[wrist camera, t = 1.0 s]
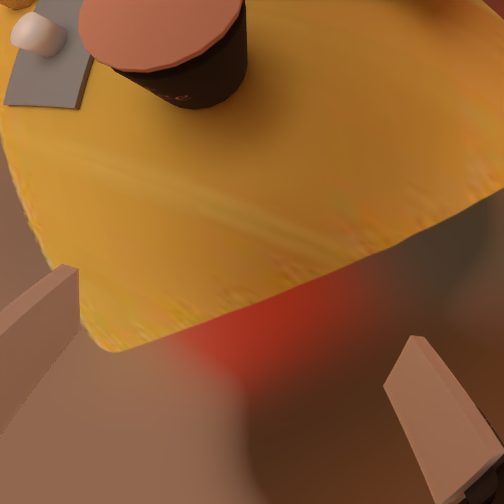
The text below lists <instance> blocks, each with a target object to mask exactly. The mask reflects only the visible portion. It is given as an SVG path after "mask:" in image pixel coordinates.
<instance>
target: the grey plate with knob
mask: <svg viewBox="0 0 504 504" xmlns="http://www.w3.org/2000/svg"><path fill="white" fill-rule="evenodd" d="M83 1H84V0H39V1H38V3H37V5H36V8H35V10H34V12H29V13H27V14H25V15H23V16H22V17H21V18H20V19H19V20H18V21H17V23H16V24H15V26H14V27H13V29H12V32H11V36H10V41H11V44H12V45H13V46H16V47H19V51H18V54H17V57H16V60H15V63H14V66H13V69H12V73H11V76H10V80H9V84H8V87H7V91H6V95H5V100H4V104H3V105H21V106H45V107H60V108H73V109H79V108H80V104H81V100H82V97H83V93H84V89H85V86H86V82H87V79H88V75H89V72H90V69H91V66H92V63H93V60H94V57H93V56H92V55H91V54H90V53H89V52H88V51H87V50H86V49H85V48H84V45H83V42H82V40H81V37H80V34H79V31H78V25H79V11H80V8H81V6H82V3H83Z"/></svg>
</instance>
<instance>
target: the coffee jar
mask: <svg viewBox="0 0 504 504" xmlns="http://www.w3.org/2000/svg"><path fill="white" fill-rule="evenodd" d="M78 31H79V34H80V37H81V40H82V42H83V45H84V48H85V49H86V50H87V51H88V52H89V53H90V54H91V55H92V56H93V57H94V58H95V59H96V60H97V61H98V62H100V63H102V64H105V65H108V66H110V67H111V68H112V69H113V70H114V71H115V72H117V73H119V74H121V75H123V76H124V77H126V78H128V79H130V80H131V81H133V82H135V83H137V84H138V85H140V86H142V87H144V88H145V89H147V90H149V91H150V92H152V93H154V94H155V95H157V96H159V97H160V98H162V99H164V100H165V101H167V102H169V103H171V104H173V105H176V106H178V107H180V108H188V109H201V108H207V107H211V106H213V105H216V104H218V103H220V102H222V101H224V100H226V99H227V98H228V97H229V96H230V95H231V94H233V93H234V92H235V91H236V90H237V88H238V87H239V85H240V84H241V82H242V80H243V79H244V76H245V72H246V68H247V31H246V6H245V0H84V1H83V3H82V6H81V8H80V11H79V25H78Z"/></svg>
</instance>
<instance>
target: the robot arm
mask: <svg viewBox="0 0 504 504" xmlns="http://www.w3.org/2000/svg"><path fill="white" fill-rule="evenodd" d="M80 330H81V326H80V308H79V269H78V268H74V267H71V266H67V265H64V264H62V265H61V266H59V267H58V268H56V269H55V270H54V271H52V272H51V273H49V274H48V275H47V276H45V277H44V278H43V279H41V280H40V281H39V282H37V283H36V284H35V285H33V286H32V287H31V288H30V289H28V290H27V291H26V292H24V293H23V294H21V295H20V296H19V297H18V298H16V299H15V300H14V301H12V302H11V303H10V304H9V305H7V306H6V307H5V308H4V309H3V310H1V311H0V437H1V435H2V434H3V433H4V431H5V430H6V428H7V427H8V425H9V424H10V422H11V421H12V419H13V418H14V416H15V415H16V414H17V412H18V411H19V409H20V408H21V406H22V405H23V404H24V402H25V401H26V400H27V398H28V397H29V395H30V394H31V393H32V391H33V390H34V388H35V387H36V386H37V384H38V383H39V382H40V380H41V379H42V378H43V377H44V375H45V374H46V373H47V371H48V370H49V368H50V367H51V366H52V364H53V363H54V362H55V361H56V360H57V358H58V357H59V356H60V354H61V353H62V352H63V351H64V350H65V348H66V347H67V346H68V345H69V343H70V342H71V341H72V340H73V338H74V337H75V336H76V335H77V333H78V332H79V331H80ZM383 387H384V389H385V391H386V393H387V395H388V397H389V399H390V401H391V403H392V406H393V408H394V409H395V412H396V414H397V416H398V418H399V421H400V423H401V425H402V427H403V429H404V431H405V434H406V436H407V438H408V440H409V443H410V445H411V447H412V449H413V452H414V454H415V456H416V458H417V461H418V463H419V465H420V467H421V470H422V472H423V475H424V477H425V479H426V482H427V484H428V487H429V489H430V492H431V494H432V497H433V499H434V502H435V504H448V503H451V502H453V501H454V500H455V499H457V498H458V497H459V496H460V495H461V494H462V493H465V495H466V498H465V499H463V500H462V501H461V502H460V503H458V504H504V445H503V443H502V442H501V440H500V439H499V437H498V436H497V434H496V433H495V431H494V430H493V428H492V427H490V426H491V425H490V424H489V422H488V421H487V420H485V419H486V418H485V416H484V415H483V413H482V412H481V411H480V409H479V408H478V407H477V406H476V405H475V404H474V403H473V402H472V400H471V399H470V397H469V396H468V395H467V393H466V392H465V390H464V389H463V388H462V386H461V385H460V383H459V382H458V381H457V379H456V378H455V377H454V375H453V374H452V373H451V371H450V370H449V369H448V367H447V366H446V365H445V363H444V362H443V361H442V359H441V358H440V357H439V356H438V354H437V353H436V352H435V350H434V349H433V348H432V347H431V345H430V344H429V343H428V341H427V340H426V339H425V338H424V337H420V336H412V335H411V336H410V337H409V339H408V341H407V343H406V345H405V347H404V349H403V351H402V353H401V355H400V356H399V358H398V360H397V362H396V364H395V366H394V368H393V370H392V371H391V373H390V375H389V376H388V378H387V380H386V382H385V383H384V385H383Z"/></svg>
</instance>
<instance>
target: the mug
mask: <svg viewBox="0 0 504 504" xmlns="http://www.w3.org/2000/svg"><path fill="white" fill-rule="evenodd" d="M34 1H35V0H0V4H2V5H4V6H7V7H9V8H11V9H13V10H16V9H20V8H25V7H29V6H30V5H31V4H32V3H33V2H34Z"/></svg>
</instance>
